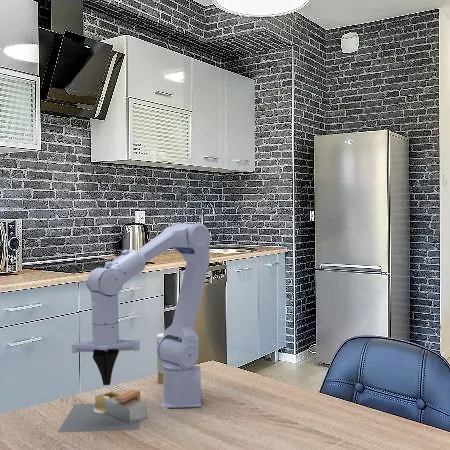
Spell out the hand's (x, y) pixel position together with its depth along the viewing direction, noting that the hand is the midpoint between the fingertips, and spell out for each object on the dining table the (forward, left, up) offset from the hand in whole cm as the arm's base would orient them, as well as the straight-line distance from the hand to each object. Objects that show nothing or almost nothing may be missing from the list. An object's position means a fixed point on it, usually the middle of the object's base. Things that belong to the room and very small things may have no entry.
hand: (106, 383), depth 122 cm
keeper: (-4, -5, -9) cm, 11 cm away
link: (-2, -5, -8) cm, 10 cm away
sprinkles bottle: (-11, -28, -9) cm, 32 cm away
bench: (+1, -4, -9) cm, 10 cm away
